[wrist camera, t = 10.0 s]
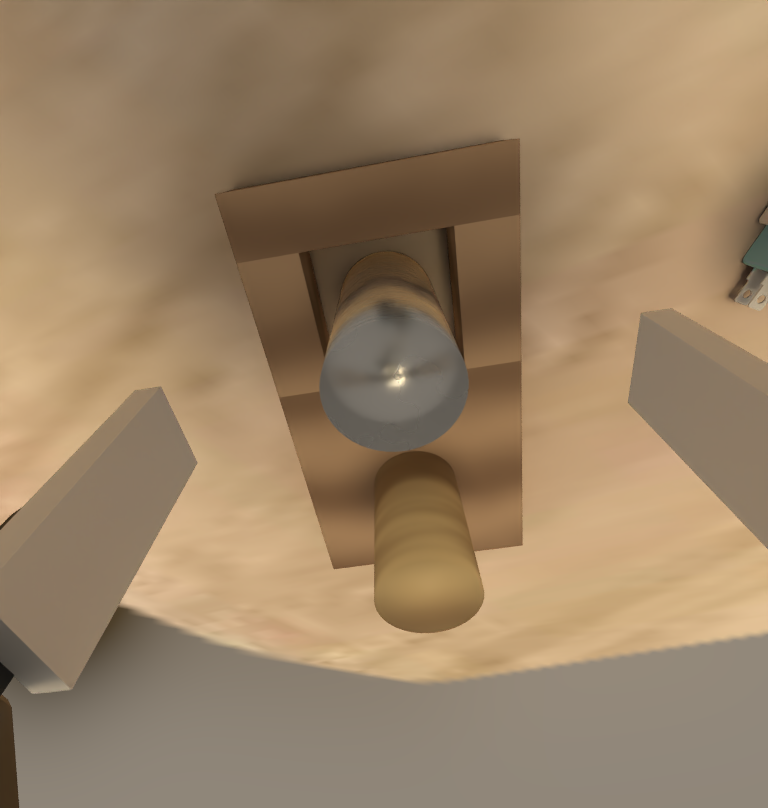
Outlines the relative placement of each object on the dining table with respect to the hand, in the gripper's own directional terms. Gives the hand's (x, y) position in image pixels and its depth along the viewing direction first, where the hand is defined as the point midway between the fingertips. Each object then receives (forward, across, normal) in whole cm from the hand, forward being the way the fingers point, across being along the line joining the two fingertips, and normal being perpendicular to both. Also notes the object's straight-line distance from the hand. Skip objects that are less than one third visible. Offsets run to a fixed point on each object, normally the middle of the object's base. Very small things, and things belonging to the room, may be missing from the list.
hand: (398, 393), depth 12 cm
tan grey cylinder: (+11, 0, -1) cm, 11 cm away
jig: (+11, 0, -6) cm, 12 cm away
